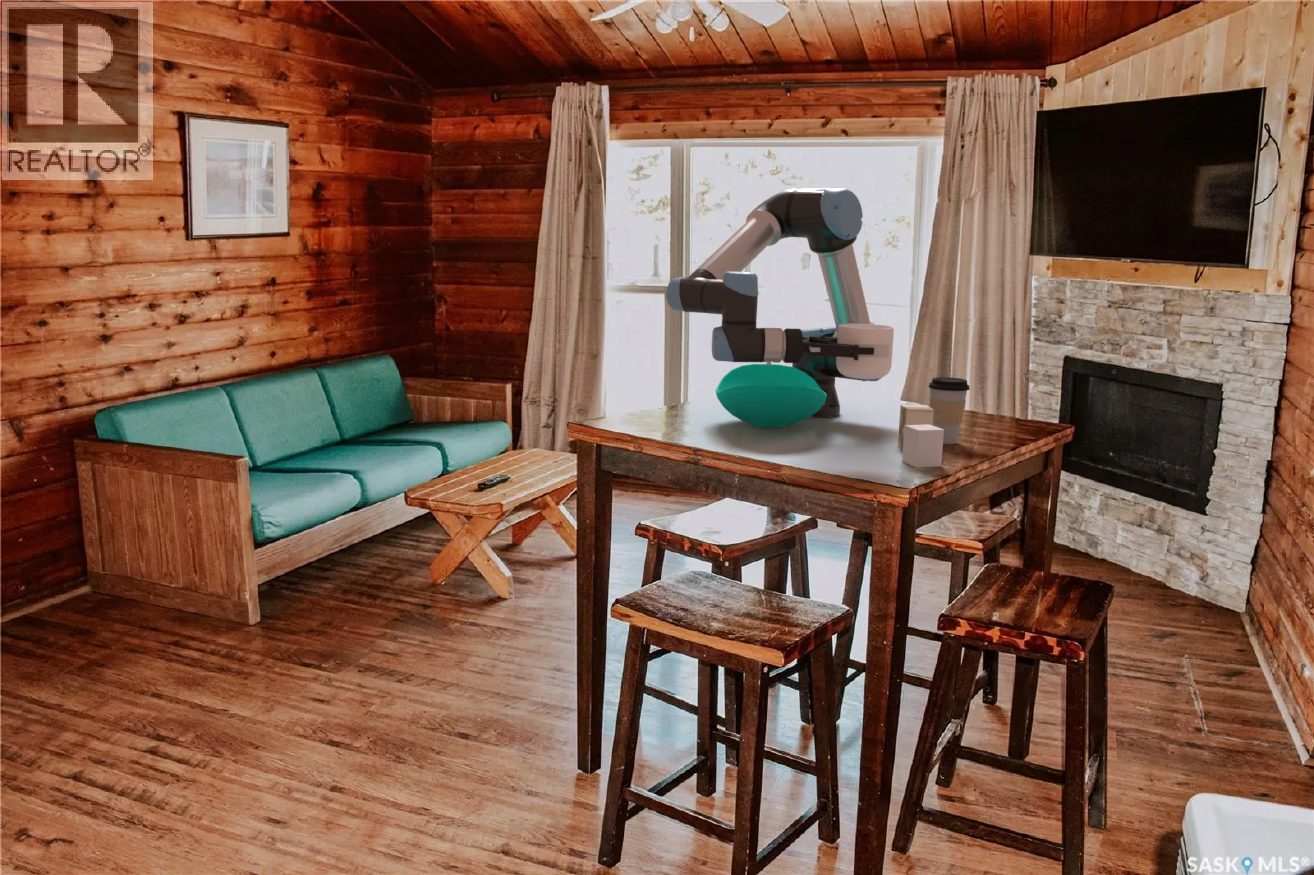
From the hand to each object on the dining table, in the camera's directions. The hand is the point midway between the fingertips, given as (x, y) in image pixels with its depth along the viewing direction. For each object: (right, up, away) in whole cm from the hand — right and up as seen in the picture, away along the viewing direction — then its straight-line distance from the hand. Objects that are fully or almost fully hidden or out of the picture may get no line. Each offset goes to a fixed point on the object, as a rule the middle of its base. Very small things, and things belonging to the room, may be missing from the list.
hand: (881, 347), depth 226 cm
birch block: (+10, -23, +11) cm, 27 cm away
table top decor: (-21, -17, +36) cm, 45 cm away
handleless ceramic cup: (-4, -7, +1) cm, 8 cm away
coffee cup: (+19, -21, +21) cm, 35 cm away
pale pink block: (+8, -25, -3) cm, 27 cm away
